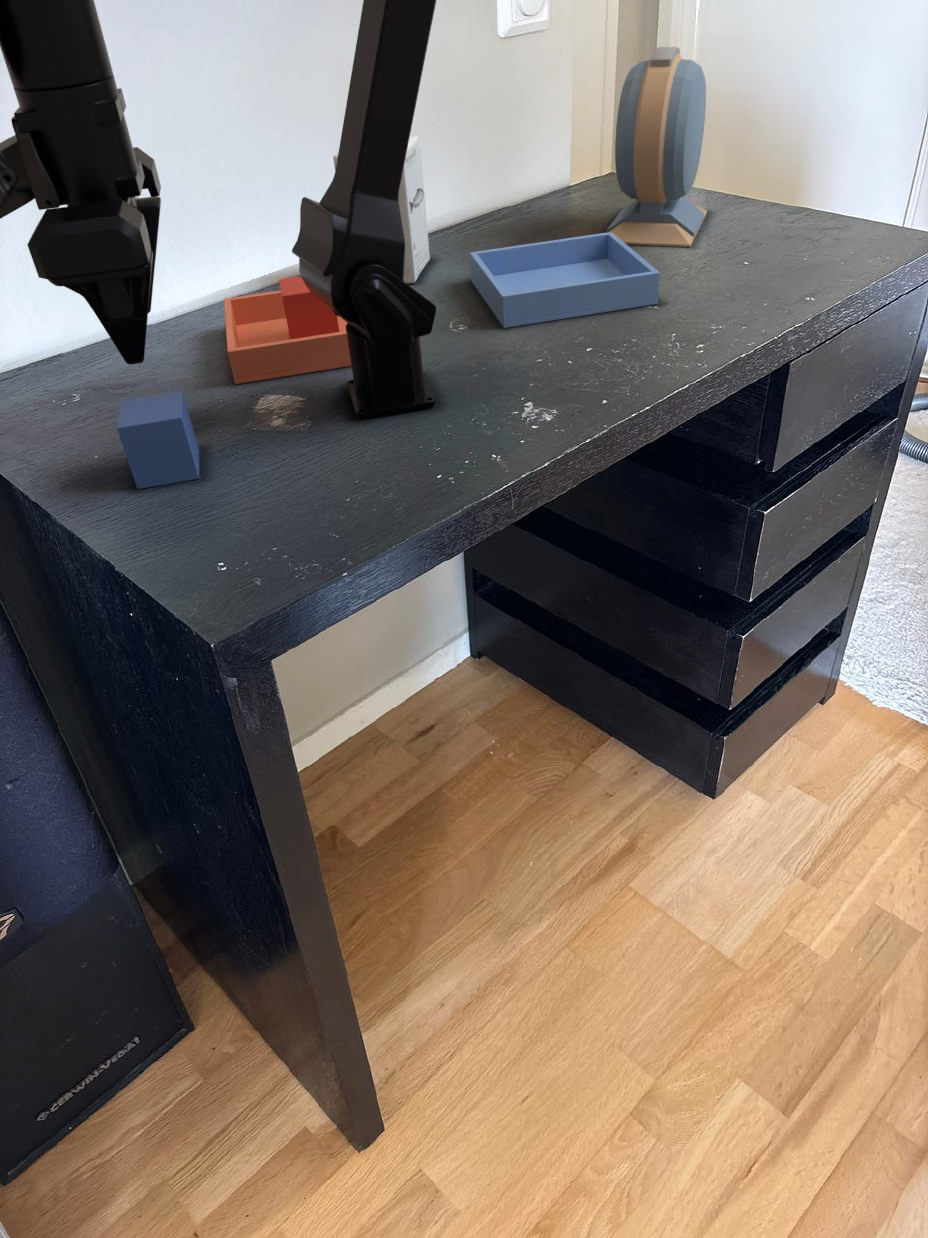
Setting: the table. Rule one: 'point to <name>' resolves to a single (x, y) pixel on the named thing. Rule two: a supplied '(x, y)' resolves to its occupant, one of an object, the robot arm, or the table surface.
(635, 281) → the blue tray
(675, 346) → the table surface
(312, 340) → the red tray
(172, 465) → the blue block
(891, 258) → the table surface
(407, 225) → the white packaging box
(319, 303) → the red block
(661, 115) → the blue rounded upright piece
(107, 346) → the table surface
